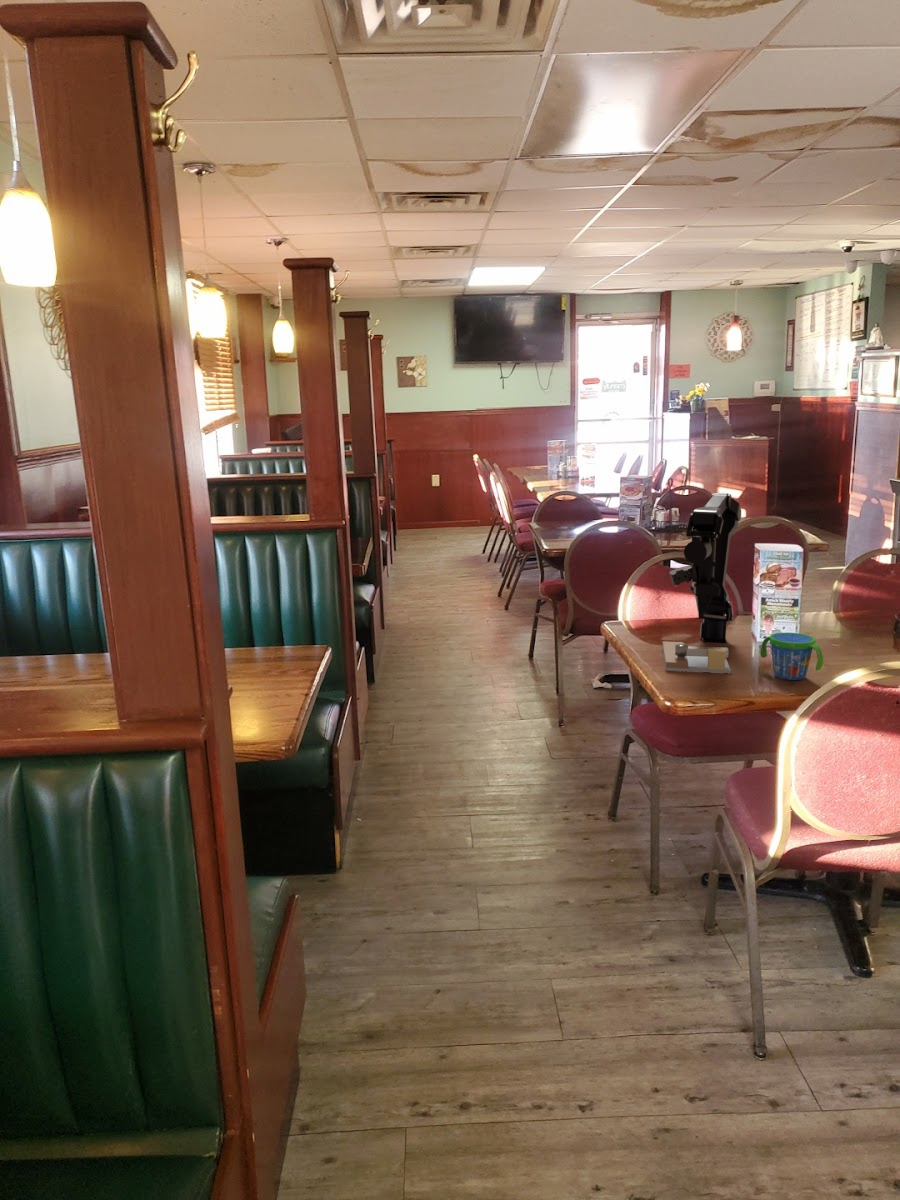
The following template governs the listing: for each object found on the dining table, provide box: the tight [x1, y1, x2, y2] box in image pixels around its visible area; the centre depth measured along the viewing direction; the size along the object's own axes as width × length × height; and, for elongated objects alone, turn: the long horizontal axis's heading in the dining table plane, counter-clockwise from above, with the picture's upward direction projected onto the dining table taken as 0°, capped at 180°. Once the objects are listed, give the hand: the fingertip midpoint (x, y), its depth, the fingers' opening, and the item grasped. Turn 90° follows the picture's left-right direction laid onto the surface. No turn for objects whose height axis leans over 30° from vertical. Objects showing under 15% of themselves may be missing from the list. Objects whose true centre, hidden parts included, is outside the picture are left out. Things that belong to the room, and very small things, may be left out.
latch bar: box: [675, 643, 730, 659], centre depth 219 cm, size 13×3×2 cm, turn 80°
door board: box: [661, 641, 732, 675], centre depth 225 cm, size 16×20×6 cm
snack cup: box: [759, 632, 824, 681], centre depth 210 cm, size 16×10×10 cm
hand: (700, 614), depth 227 cm, fingers closed
